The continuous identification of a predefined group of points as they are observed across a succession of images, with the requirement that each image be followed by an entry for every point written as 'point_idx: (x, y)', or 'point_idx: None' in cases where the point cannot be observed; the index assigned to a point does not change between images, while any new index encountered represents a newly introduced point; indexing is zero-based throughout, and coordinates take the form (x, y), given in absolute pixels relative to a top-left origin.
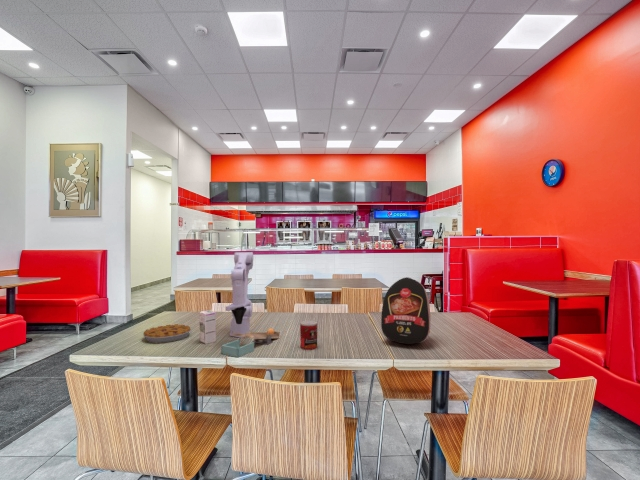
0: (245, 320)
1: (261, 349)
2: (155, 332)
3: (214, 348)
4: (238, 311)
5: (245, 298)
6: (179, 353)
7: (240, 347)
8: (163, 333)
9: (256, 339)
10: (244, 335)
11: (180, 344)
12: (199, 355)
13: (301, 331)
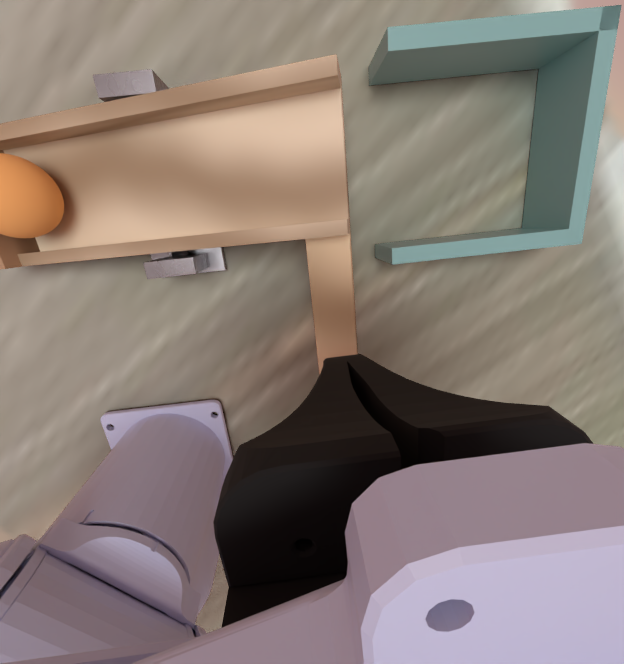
0: (122, 510)
1: (309, 31)
2: None
3: (471, 366)
4: (564, 430)
5: None
6: (615, 440)
7: (574, 19)
8: None
9: (192, 254)
10: (349, 237)
11: None
12: (608, 327)
13: None
